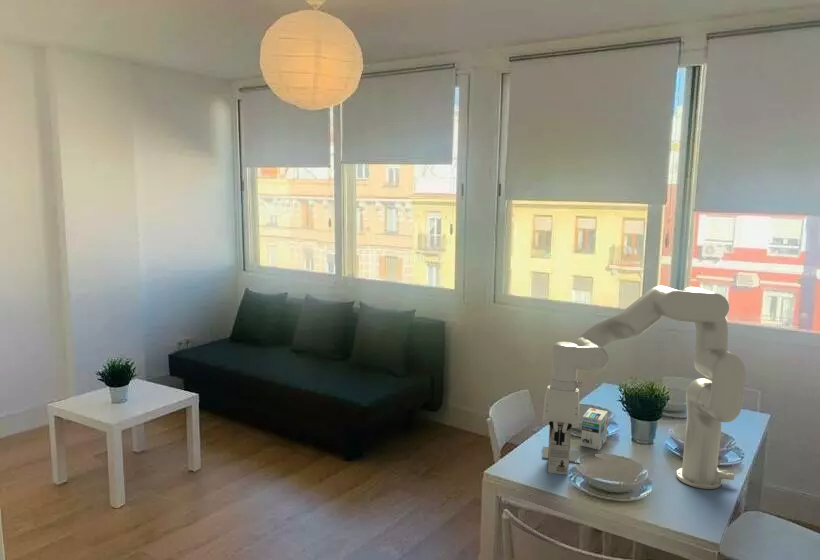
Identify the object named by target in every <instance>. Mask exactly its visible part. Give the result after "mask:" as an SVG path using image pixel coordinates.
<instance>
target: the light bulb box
mask: <svg viewBox="0 0 820 560" xmlns="http://www.w3.org/2000/svg"><path fill="white" fill-rule="evenodd" d="M608 419H609V411H607V410H602V409H597V408H592V407H589V408H588V409H587V410H586V412H584V415H582V421H581V422H582V423H581V440H580V446H581V447H585V448H589V449H594V450H598V451H600V450H601V448H602V447H603V445H605V443H606V441H607V434H608V433H607V432H608V423H609V422H608Z"/></svg>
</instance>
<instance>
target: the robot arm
mask: <svg viewBox="0 0 820 560" xmlns="http://www.w3.org/2000/svg"><path fill="white" fill-rule="evenodd" d="M729 311H730V305H729V302H728V300H727V298H726V297H725V296H724V295H722V294H720V293H718V292H715V291H711V290H708V289H705V288H702V287H697V286H688V287H685V288H683V289H682V290H678V289H675V288H673V287H669V286H666V285H656V286H653V287H652V288H650V289H649V290H648V291H646V292H645V293H643V295H641V296H640V297H639V298H638V299H636V300H635V301H633V303H631V304H630V305H628V306H627V307H625V309H623V311H621V312H620V313H618V314H616V315H614V316H613V315H612V316H611V317H608V318H606V319H605V320H602V321H600V322H598V323H596V324H594V325H593V326H591V327H590V328H588V329H587V330H585V331H584V332H583V333H582V334H581V335H579V336H578V337H577V338H576V339H575V340H574V342H570V341H557V342H554V344H553V347H552V356H551V370H550V382H549V383H550V384H549V385H547V388H546V391H545V396H544V403H543V416H542V419H541V421H542V423H543V424H545V425H549V427H550V426H551V427H552V429H553V430H554V431H555V434H554V441H556V445H560V446H562V442H564V440H565V433H566V431H568V430H569V429H570V428H571V429H572V428H573V429H574V428H579V427H580V403H581V402H580V389H579V388H581V387H583V386H582V385H583V382H581V381H578V373H579V369H580V370H585V371H591V372H597V371H602V370H603V369H605V368H606V367H607V365H608V363H609V362H610V361H609V359H610V358H609V354H608V352H607V350H606V349H605V348H604V347H606V346H607V345H609V344H611V343H613V342H616V341H619V340H629V339H634V338H638V337H641V336H642V335H643V334H644V333H645V332H647V331H648V330H649V329H651V328H652V327H653V326H654V325H656V324H657V323H658V322H659V321H661V320H662V319H664V318H665V319H668V320H672V321H679V322H689V323H691V322H692V323H694V325H695V342H694V343H695V345H694V354H693V355H694V356H693V365H694V369H695V370H696V371H697V372H698V373H699V374H701V375H702V376H704V377H706V378H704V377H701V378H696V379H694V380H692V381H691V382H690V383H689V384H688V386H687V387H686V390H685V391H686V392H685V403H686V424H685V434H684V435H685V436H684V446H683V455H682V456H683V457H682V467H680V468H678V469H677V470H676V473H675V474H676V475H675V476H676V478H677V479H678V481H681V482H682V483H684V484H685V485H688V486H689V487H692V488H697V489H702V490H714V489H715V490H716V489H718V488H720V487H721V486H722V482H723V481H722V480H723V479H724V480H727V481H728V480H729V481H734V480H735V474H734V473H732V472H731V473H730V472H728V470H726V469H719V467H718V463H719V453H720V444H721V443H720V441H721V435H722V434H721V433H722V423H731V422H733V421H734V420H736V419H737V418H738V417H739V416H740V414H741V411H742V408H743V403H744V393H745V386H746V385H745V383H746V376H747V375H746V367H745V364H744V361H743V360H742V358H741V357H740V356H739V355H737V354H735V353H733V352H731V351H730V350H728V344H729V343H728V341H729V340H728V339H729V335H728V334H729V327H728V322H727V319H726V317H727V315H728V313H729ZM558 422H560V423H563V426H562V428H561V430H559V427H558ZM559 434H560V439H559Z"/></svg>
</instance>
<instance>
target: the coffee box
mask: <svg viewBox="0 0 820 560" xmlns="http://www.w3.org/2000/svg"><path fill="white" fill-rule="evenodd" d="M562 426H563V423H560V422H558V427H559V430H561V428H562ZM548 431H549V432H548V433H549V434H548V447H549V448H548V460H547V472H548V473H551V474H559V475H567V474H569V467H570V465H569V464H570V462H569V454H570V450H571V439H572V438H571V436H572V435H571V434H572V428H570V429H569V430H568V431H566V433H565V440H564V442H562V446H560V445H556V441H554V434H555V431H554V430H553V429H552V427H551V426H550V425H549V429H548ZM559 439H560V434H559Z"/></svg>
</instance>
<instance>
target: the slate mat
mask: <svg viewBox="0 0 820 560" xmlns="http://www.w3.org/2000/svg"><path fill="white" fill-rule="evenodd" d="M548 448H549V446H543V447H542V456H541V457H542V460H547V461H548ZM580 453H581V451H580V450H576V449H575V450H574V449H570V454H569V463H570V462H571V463H573V464H575V463H574V462H575V461H576V460H577V459H578V458H579V457H580V458H581V454H580Z"/></svg>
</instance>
